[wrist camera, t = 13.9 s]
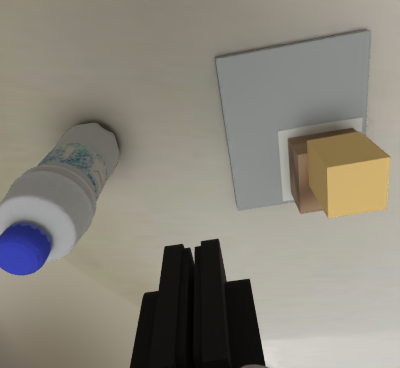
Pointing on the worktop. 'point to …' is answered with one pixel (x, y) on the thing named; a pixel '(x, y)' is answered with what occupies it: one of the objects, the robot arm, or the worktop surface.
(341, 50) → the plate
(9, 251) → the bottle
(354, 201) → the ochre block
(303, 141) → the walnut block
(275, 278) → the worktop surface
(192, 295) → the robot arm
